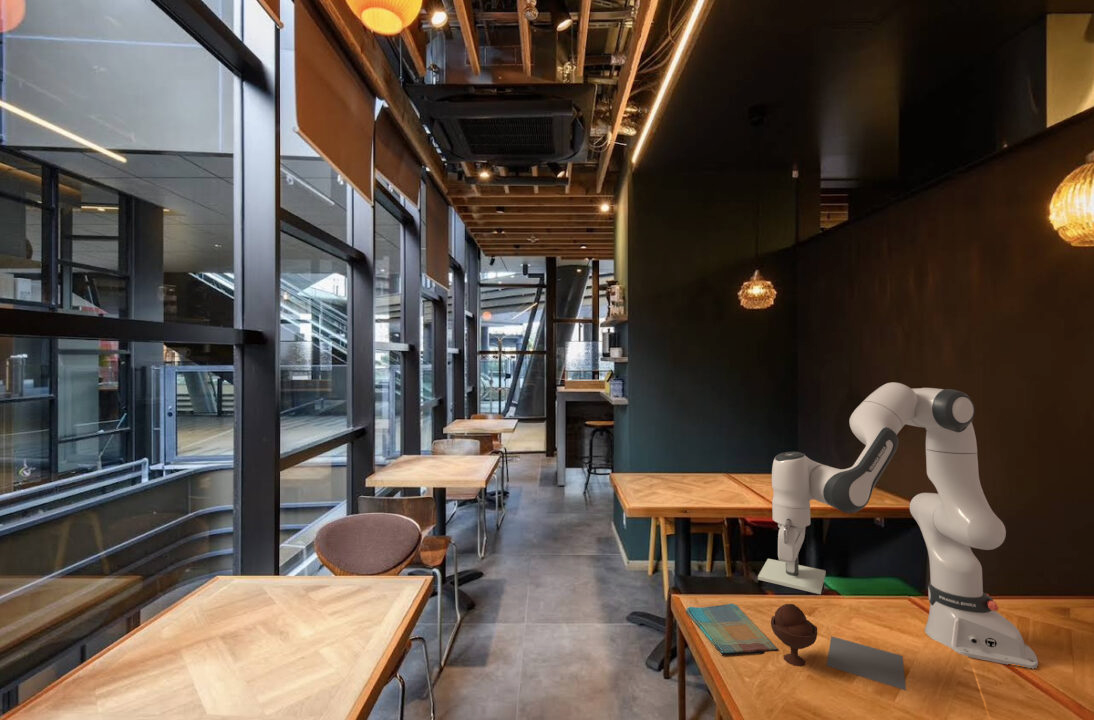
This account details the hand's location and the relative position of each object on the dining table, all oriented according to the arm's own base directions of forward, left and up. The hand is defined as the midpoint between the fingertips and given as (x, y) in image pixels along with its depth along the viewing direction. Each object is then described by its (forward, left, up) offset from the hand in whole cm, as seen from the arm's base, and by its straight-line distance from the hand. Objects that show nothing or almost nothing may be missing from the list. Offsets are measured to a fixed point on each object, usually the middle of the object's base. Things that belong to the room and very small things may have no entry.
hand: (792, 568), depth 121 cm
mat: (-15, -10, -24) cm, 30 cm away
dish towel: (+18, -6, -25) cm, 31 cm away
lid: (0, 0, -2) cm, 2 cm away
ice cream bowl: (0, 0, -24) cm, 24 cm away
